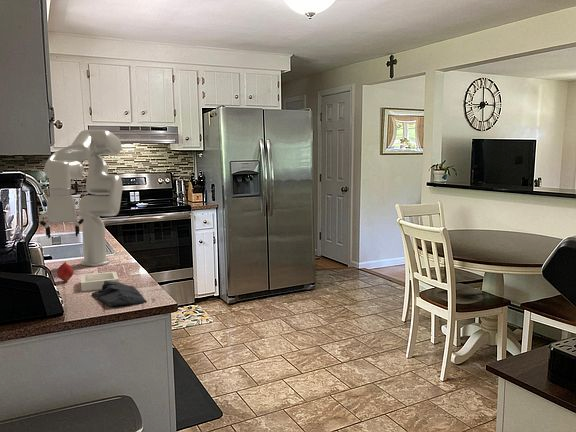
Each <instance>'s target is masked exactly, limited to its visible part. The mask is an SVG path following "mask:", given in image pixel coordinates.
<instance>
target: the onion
mask: <svg viewBox="0 0 576 432" xmlns="http://www.w3.org/2000/svg"><path fill="white" fill-rule="evenodd" d="M56 275H57V277H58V279H60V280H62V281H63V282H68V281H69V280H70V279H71V278H72V277H73V275H74V269H73V267H72V266H71V265H70V264H68V263H67V261H64V262H63V263H62V264H61V265H60V266H59V267H58V269H57V271H56Z"/></svg>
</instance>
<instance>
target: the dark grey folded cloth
mask: <svg viewBox="0 0 576 432" xmlns="http://www.w3.org/2000/svg"><path fill="white" fill-rule="evenodd" d="M91 295H92V296H94V297H95V298H96V299H97V300H99V301H101V302H103V303H104V304H105V305H107V306H110V307H118V306H119V305H120V306H129V305H130V306H131V304H132V305H141V304H144V302H145V303H148V301H147V300H146V298H144V296H143V295H142V294H141V293H140V291H139V290H138V289H137V288H136V287H135V286H133V285H128V284H124V283H121V282H120V281H119V282H111V281H104V284H103V286H102V289H99V290H96V291H94V292H92V293H91Z"/></svg>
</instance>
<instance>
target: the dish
mask: <svg viewBox="0 0 576 432" xmlns="http://www.w3.org/2000/svg"><path fill="white" fill-rule="evenodd" d="M104 281H111V282H119V283H120V278H119V276H118V273H117V271H116V270H115V271H106V272H98V273H97V272H95V273H87V274H86V273H84V274H80V286H81V287H80V288H81V292H88V291H100V290H102V286H103V284H104Z"/></svg>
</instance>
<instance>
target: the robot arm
mask: <svg viewBox="0 0 576 432" xmlns="http://www.w3.org/2000/svg"><path fill="white" fill-rule="evenodd" d="M121 151H122V143H121V139H120V138H119V137H118V136H117V135H115V134H114V133H113V132H111V131H109V130H107V129H84V130H83V129H82V131H80V132H79V133H78V135H77V136H76V138H74V140H73V142H71V144H70V145H68V146H65V147H63V148H61V149H59V150H57V151H55V152H54V153H52V154H51V155H50V156H49V157H48V159H47V160H46V162H45V164H44V168H43V169H44V170H43V171H44V174H45V176H46V177H47V178H48V186H49V196H48V197H47V200H46V201H47V202H46V211H45V212H43V213H40V215H38V216H39V221H38V222H39V224H40V225H41V226H43V227H44V228H45V236H47V238H48V239H51V227H50V225H51V224H52V223H53V224H54V223H55V224H56V223H57V224H58V223H73V224H74V225H75V226H74V231H75V237H78V235H80V226H81V228H82V246H83V248H82V249H83V259H82V260H81V261H80V265H81V266H83V267H97V266H104V265H108V264H110V263H111V260H110V258H107V249H106V248H107V247H106V225H105V223H104V221H103V220H102V218H101V217H115V216H117V215H118V214H119V213H120V209H121V202H122V194H123V179H122V177H121V176H120V175H118V174H113V173H112V174H111V173H108V172H109V171H108V170H109V166H108V163H107V162H106V161H105V159H104V158H103V157H102V156H117V155H118V154H120V153H121ZM86 160H87V163H88V171H87V175H86V183H85V191H86V192H87V193H89V194H90V195H84V196H82V197H80V198H79V201H78V209H79V211H78V210H77V207H76V200H75V198H74V196H73V194H76V189H72V184H71V183H72V180H78V179H80V178H82V177H83V176H84V174H85V167H84V165H83V164H82V162H85V161H86ZM77 216H79V217H80V219H79V220H77ZM44 217H46V219H47V222H45V221H44V219H43V218H44Z"/></svg>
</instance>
